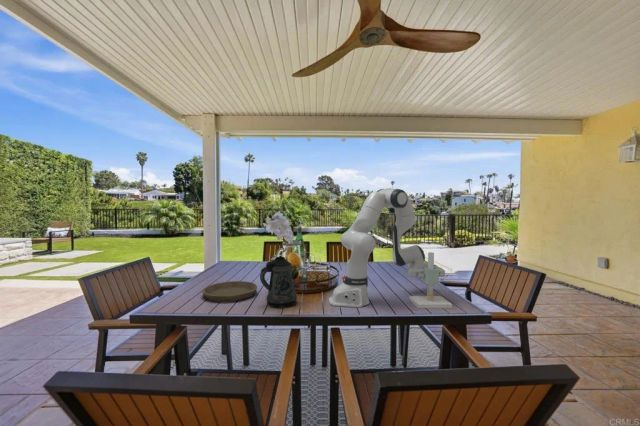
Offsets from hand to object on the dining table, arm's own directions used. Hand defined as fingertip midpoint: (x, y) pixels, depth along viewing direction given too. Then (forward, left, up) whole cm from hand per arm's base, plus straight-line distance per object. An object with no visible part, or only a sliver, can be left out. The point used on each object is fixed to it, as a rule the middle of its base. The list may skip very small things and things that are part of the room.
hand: (431, 276), depth 162 cm
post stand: (0, +1, -16) cm, 16 cm away
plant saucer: (-113, +17, -16) cm, 115 cm away
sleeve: (0, +1, -4) cm, 4 cm away
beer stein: (-82, +1, -16) cm, 84 cm away
